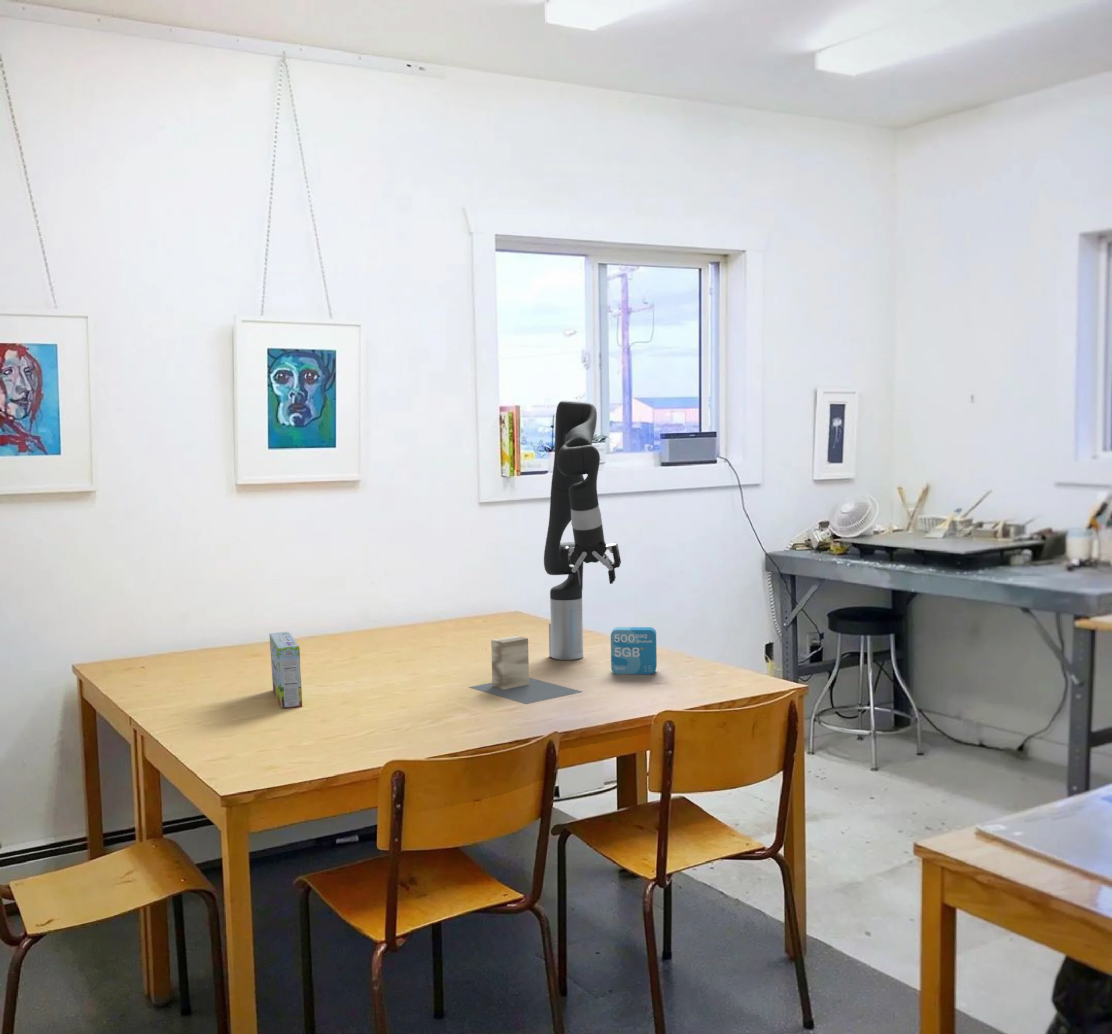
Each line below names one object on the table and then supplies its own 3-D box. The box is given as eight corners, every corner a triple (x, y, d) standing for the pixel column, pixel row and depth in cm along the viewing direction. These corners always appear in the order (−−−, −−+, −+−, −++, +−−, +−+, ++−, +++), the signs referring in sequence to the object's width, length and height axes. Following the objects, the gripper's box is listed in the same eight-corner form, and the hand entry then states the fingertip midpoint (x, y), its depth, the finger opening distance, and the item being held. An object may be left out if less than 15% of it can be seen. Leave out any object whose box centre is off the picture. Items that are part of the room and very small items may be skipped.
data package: (611, 674, 290) (610, 629, 289) (612, 670, 295) (611, 626, 294) (656, 674, 289) (655, 630, 288) (656, 671, 293) (656, 627, 292)
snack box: (270, 690, 279) (268, 632, 278) (292, 688, 281) (290, 630, 280) (280, 709, 259) (277, 647, 258) (303, 707, 261) (301, 645, 260)
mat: (468, 688, 277) (468, 687, 277) (524, 677, 288) (524, 676, 288) (526, 705, 259) (526, 704, 258) (583, 692, 270) (583, 691, 270)
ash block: (491, 686, 278) (490, 639, 277) (516, 681, 283) (515, 635, 282) (504, 689, 274) (502, 642, 273) (529, 684, 279) (528, 638, 278)
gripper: (617, 516, 273) (624, 576, 278) (562, 520, 276) (570, 579, 281) (612, 526, 266) (620, 587, 271) (556, 530, 269) (565, 591, 274)
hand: (595, 583), depth 276 cm, fingers open, 8 cm apart
